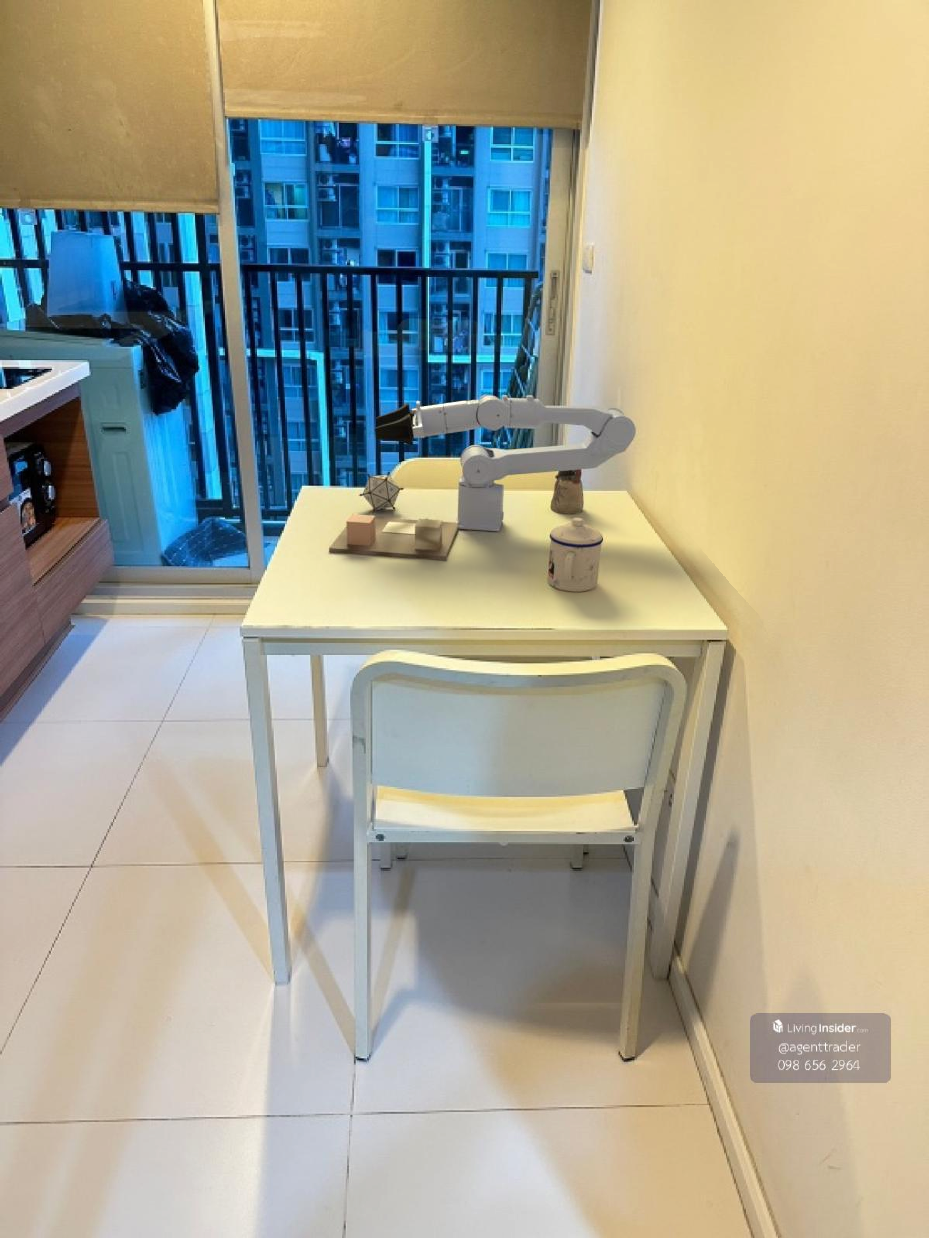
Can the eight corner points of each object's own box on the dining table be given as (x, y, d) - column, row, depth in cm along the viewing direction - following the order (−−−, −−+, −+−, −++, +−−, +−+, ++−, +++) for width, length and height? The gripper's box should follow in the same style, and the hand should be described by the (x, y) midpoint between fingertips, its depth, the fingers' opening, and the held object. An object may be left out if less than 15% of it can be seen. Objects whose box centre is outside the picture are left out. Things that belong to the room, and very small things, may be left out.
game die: (388, 528, 180) (400, 500, 172) (351, 513, 179) (361, 484, 171) (399, 498, 185) (411, 470, 177) (363, 484, 184) (373, 454, 176)
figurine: (569, 503, 189) (574, 451, 184) (589, 511, 183) (594, 458, 178) (544, 507, 185) (548, 454, 180) (563, 516, 180) (568, 461, 175)
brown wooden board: (459, 526, 171) (459, 522, 171) (445, 560, 153) (445, 555, 153) (354, 519, 173) (354, 515, 173) (329, 552, 155) (328, 547, 155)
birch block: (441, 542, 159) (442, 520, 157) (438, 550, 155) (438, 527, 153) (418, 541, 160) (419, 518, 158) (414, 548, 156) (414, 526, 154)
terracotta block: (375, 538, 161) (375, 515, 159) (370, 545, 156) (370, 523, 155) (352, 536, 161) (352, 514, 159) (347, 544, 157) (346, 521, 155)
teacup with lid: (551, 570, 150) (556, 508, 145) (601, 577, 148) (608, 514, 143) (538, 595, 139) (542, 529, 134) (591, 602, 137) (598, 536, 132)
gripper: (440, 389, 167) (374, 399, 168) (443, 407, 155) (371, 417, 155) (445, 424, 171) (380, 433, 171) (448, 444, 158) (377, 454, 158)
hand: (376, 428), depth 163 cm, fingers open, 7 cm apart
